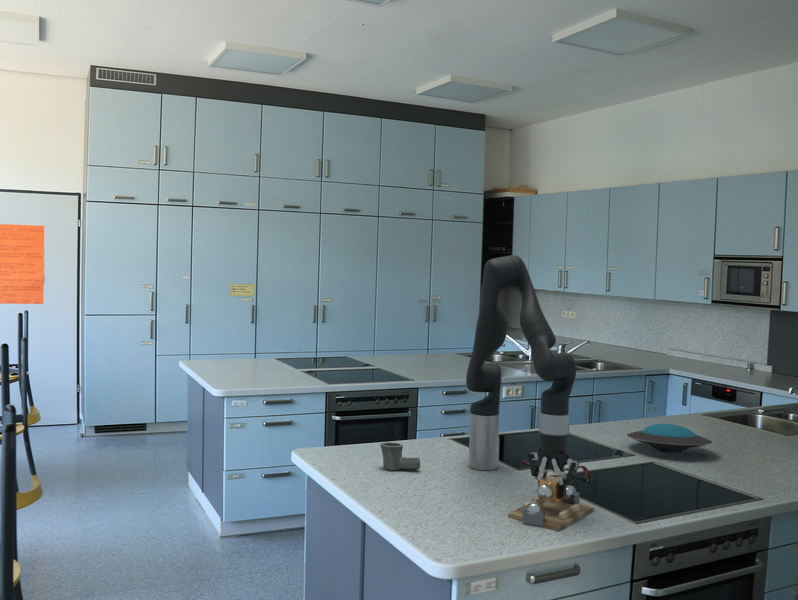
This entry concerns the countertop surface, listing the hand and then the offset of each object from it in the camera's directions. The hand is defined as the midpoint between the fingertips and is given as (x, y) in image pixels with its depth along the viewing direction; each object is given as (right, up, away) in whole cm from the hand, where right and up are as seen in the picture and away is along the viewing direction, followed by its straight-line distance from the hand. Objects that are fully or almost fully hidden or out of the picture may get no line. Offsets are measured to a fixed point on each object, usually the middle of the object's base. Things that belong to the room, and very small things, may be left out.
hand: (551, 496), depth 177 cm
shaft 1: (-6, -5, -7) cm, 11 cm away
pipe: (-39, -3, +37) cm, 54 cm away
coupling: (0, -1, 0) cm, 1 cm away
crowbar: (+10, -4, +39) cm, 41 cm away
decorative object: (+57, -4, +69) cm, 89 cm away
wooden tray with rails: (0, -5, 0) cm, 5 cm away
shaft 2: (+6, -5, +8) cm, 11 cm away
